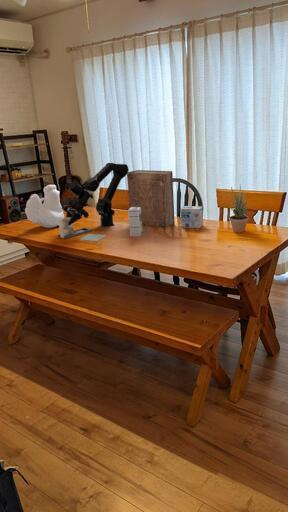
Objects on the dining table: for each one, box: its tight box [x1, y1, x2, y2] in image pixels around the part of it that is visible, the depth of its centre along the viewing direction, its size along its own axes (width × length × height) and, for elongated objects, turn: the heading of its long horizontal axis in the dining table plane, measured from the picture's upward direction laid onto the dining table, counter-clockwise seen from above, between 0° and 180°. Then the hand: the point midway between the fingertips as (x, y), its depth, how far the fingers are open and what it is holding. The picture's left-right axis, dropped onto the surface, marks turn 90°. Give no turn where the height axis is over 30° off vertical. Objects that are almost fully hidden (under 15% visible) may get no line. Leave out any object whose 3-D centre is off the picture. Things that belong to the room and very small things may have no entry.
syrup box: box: [127, 207, 144, 237], centre depth 214 cm, size 6×6×14 cm
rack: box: [57, 227, 93, 240], centre depth 225 cm, size 18×7×2 cm, turn 133°
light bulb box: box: [180, 205, 204, 229], centre depth 224 cm, size 11×7×11 cm, turn 68°
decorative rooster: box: [24, 184, 65, 229], centre depth 242 cm, size 25×16×25 cm, turn 129°
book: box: [126, 169, 176, 229], centre depth 232 cm, size 25×9×30 cm, turn 51°
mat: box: [78, 233, 107, 242], centre depth 216 cm, size 11×11×1 cm
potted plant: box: [228, 185, 250, 233], centre depth 207 cm, size 10×10×25 cm
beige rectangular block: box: [58, 217, 75, 239], centre depth 220 cm, size 7×3×10 cm, turn 133°
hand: (67, 224), depth 220 cm, fingers closed on beige rectangular block, 3 cm apart
